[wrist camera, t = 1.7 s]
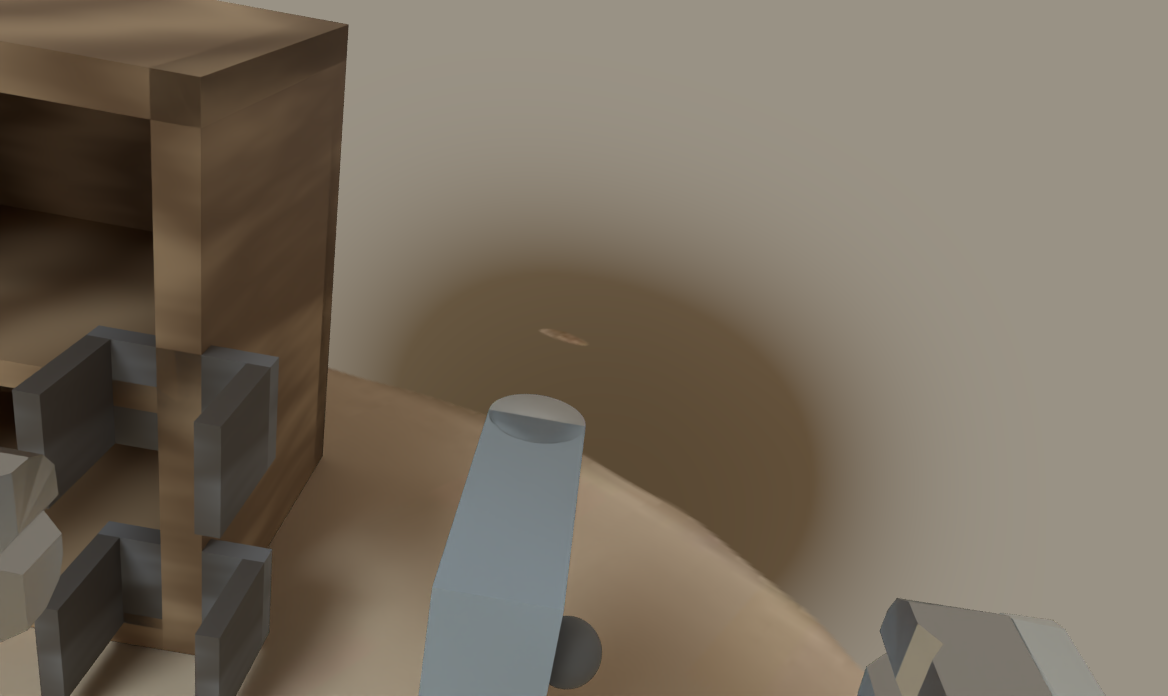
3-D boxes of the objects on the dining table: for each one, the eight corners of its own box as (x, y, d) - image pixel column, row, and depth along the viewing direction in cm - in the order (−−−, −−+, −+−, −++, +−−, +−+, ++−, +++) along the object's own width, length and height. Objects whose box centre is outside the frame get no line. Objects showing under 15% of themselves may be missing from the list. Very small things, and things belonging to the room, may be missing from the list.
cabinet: (-353, 652, 33) (-570, -26, 23) (-7, 398, 50) (-55, -50, 41) (218, 749, 33) (223, 117, 24) (365, 463, 50) (400, 34, 41)
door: (531, 998, 27) (620, 619, 21) (383, 974, 27) (432, 587, 21) (560, 728, 36) (628, 410, 30) (449, 709, 36) (495, 387, 30)
